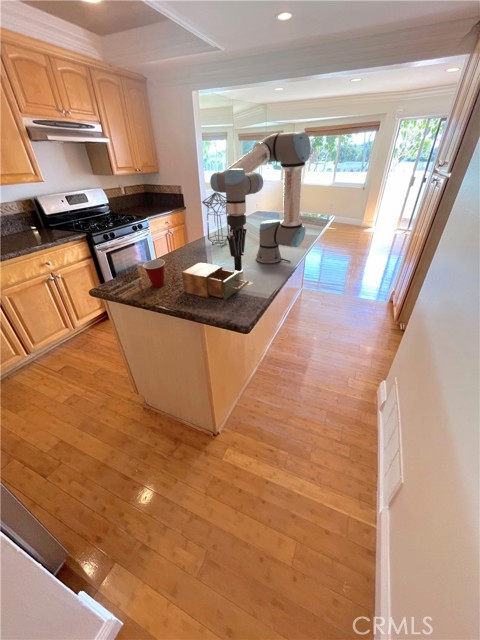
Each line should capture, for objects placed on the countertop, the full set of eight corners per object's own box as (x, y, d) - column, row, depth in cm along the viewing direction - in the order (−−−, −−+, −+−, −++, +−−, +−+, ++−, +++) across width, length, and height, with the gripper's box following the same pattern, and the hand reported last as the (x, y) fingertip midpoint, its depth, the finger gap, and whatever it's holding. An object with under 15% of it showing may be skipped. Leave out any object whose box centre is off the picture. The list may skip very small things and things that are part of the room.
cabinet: (223, 286, 135) (222, 266, 129) (207, 297, 124) (205, 276, 119) (201, 281, 140) (199, 262, 135) (184, 292, 130) (181, 272, 124)
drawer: (251, 290, 127) (251, 273, 123) (237, 302, 118) (237, 284, 113) (218, 284, 135) (217, 267, 130) (203, 294, 125) (201, 277, 121)
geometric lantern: (222, 248, 188) (219, 194, 170) (204, 246, 195) (199, 193, 176) (233, 243, 200) (232, 191, 181) (216, 240, 206) (212, 190, 188)
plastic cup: (142, 288, 135) (137, 265, 128) (155, 279, 143) (151, 258, 137) (160, 291, 131) (156, 267, 125) (173, 282, 140) (169, 260, 134)
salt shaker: (243, 281, 139) (243, 269, 136) (242, 284, 135) (242, 272, 132) (235, 281, 140) (235, 268, 136) (234, 284, 136) (233, 271, 132)
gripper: (236, 210, 111) (237, 264, 124) (219, 216, 102) (223, 274, 114) (252, 211, 108) (252, 266, 121) (236, 217, 99) (238, 277, 111)
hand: (238, 270), depth 118 cm, fingers closed
